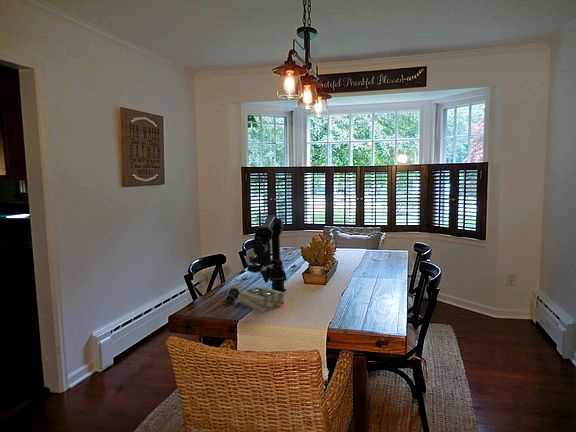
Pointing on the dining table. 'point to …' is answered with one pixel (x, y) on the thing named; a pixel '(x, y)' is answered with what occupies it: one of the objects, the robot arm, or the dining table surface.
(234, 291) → the bolt
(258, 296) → the jig block
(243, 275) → the dining table surface
